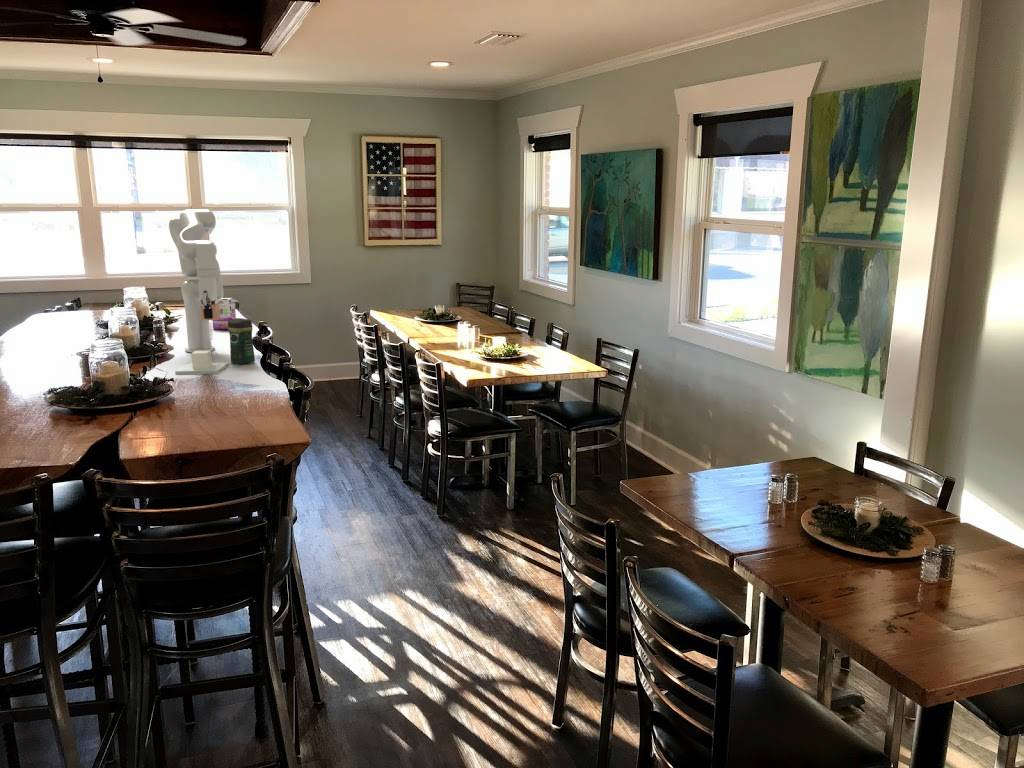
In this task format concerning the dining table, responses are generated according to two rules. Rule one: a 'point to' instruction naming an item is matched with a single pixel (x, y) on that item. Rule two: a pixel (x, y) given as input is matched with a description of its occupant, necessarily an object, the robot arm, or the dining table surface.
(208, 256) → the robot arm
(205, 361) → the cream block
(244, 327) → the coffee jar
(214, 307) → the terracotta block
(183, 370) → the board
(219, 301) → the candy bar box
